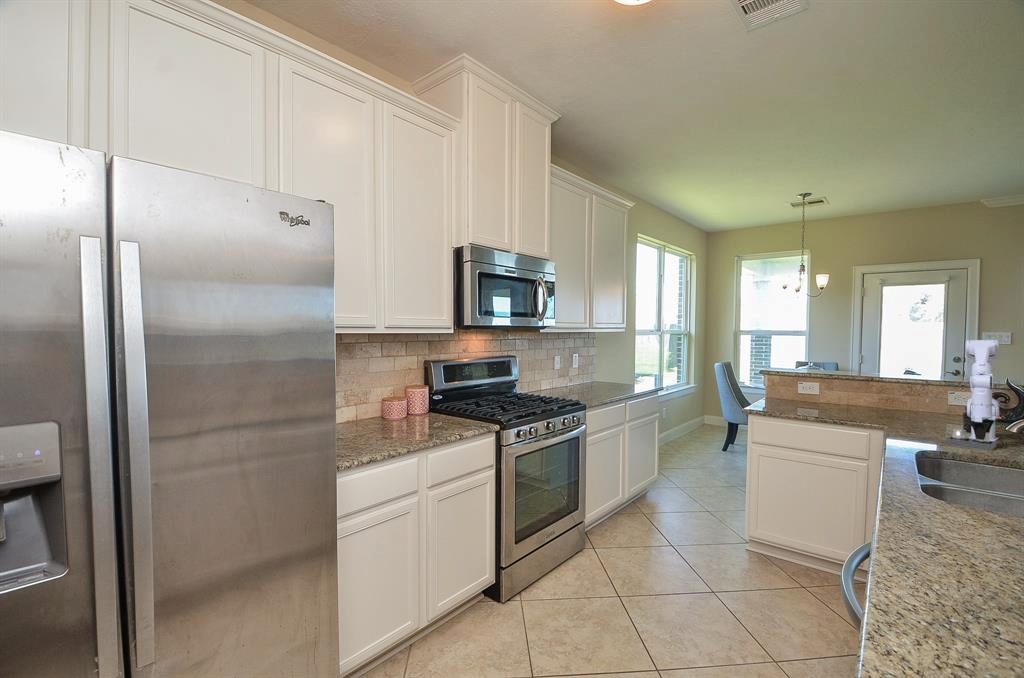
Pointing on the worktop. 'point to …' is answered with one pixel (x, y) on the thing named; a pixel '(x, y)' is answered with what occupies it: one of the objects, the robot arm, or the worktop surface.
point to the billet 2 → (986, 440)
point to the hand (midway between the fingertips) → (982, 438)
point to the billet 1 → (959, 434)
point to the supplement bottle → (966, 421)
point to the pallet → (971, 443)
